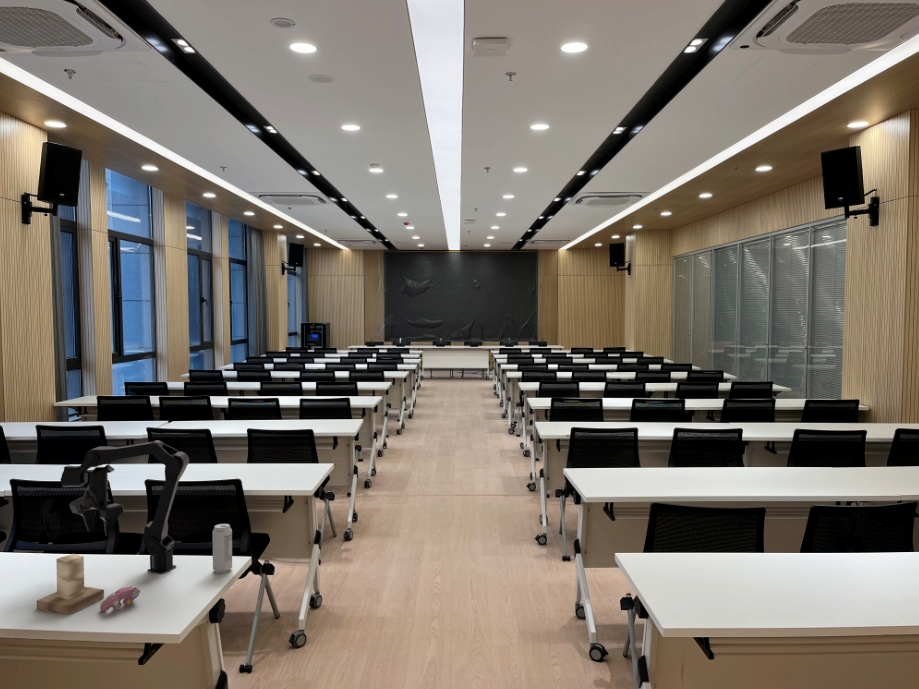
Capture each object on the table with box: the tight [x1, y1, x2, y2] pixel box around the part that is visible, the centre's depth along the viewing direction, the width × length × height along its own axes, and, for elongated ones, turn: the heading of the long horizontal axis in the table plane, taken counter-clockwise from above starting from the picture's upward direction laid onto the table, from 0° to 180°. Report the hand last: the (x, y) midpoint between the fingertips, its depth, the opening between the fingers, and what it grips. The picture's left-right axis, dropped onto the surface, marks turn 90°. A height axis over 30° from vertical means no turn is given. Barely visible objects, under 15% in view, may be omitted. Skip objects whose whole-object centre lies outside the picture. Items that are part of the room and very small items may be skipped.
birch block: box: [55, 553, 85, 600], centre depth 194 cm, size 5×5×11 cm
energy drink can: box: [212, 523, 233, 574], centre depth 220 cm, size 6×6×15 cm
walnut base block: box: [36, 586, 105, 615], centre depth 194 cm, size 12×12×2 cm
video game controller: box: [99, 585, 141, 612], centre depth 191 cm, size 10×5×7 cm, turn 150°
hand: (98, 533), depth 218 cm, fingers open, 9 cm apart
